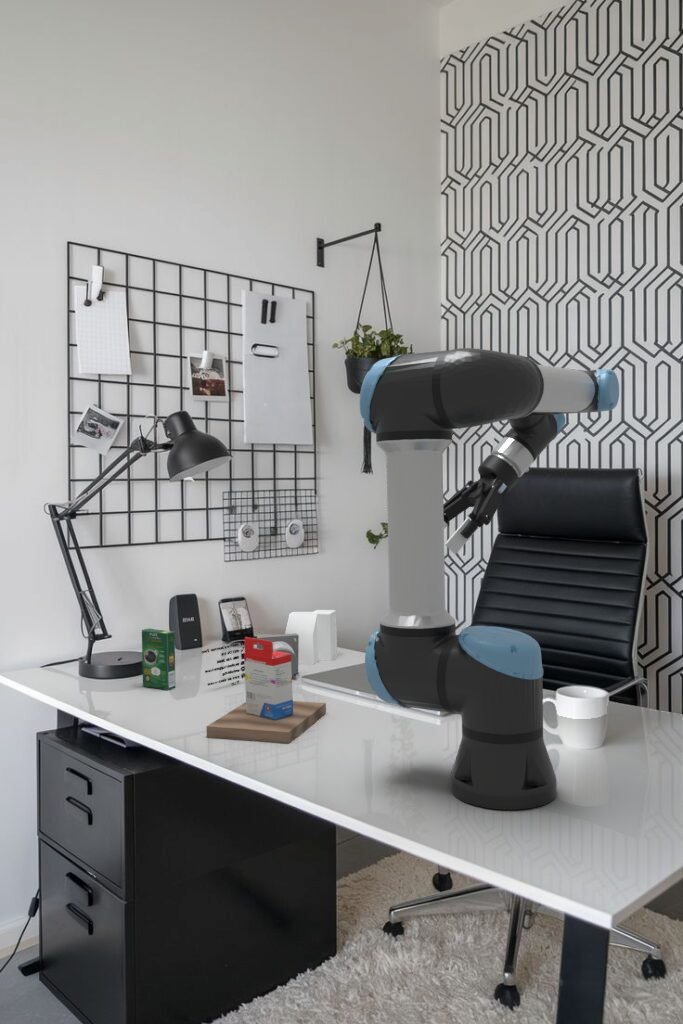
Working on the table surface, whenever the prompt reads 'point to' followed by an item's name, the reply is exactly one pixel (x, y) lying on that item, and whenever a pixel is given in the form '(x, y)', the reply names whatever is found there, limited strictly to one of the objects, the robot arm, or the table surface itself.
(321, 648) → the corner bracket
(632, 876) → the table surface
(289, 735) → the walnut plate
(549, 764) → the robot arm
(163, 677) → the coffee box
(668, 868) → the table surface
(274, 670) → the ink box
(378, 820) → the table surface
